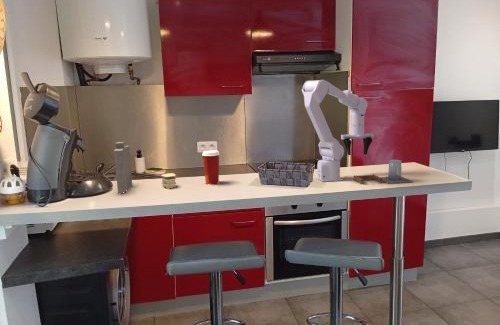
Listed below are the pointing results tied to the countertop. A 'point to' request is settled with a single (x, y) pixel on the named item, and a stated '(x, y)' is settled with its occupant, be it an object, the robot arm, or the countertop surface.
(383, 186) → the countertop surface
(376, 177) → the jug holder
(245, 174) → the countertop surface
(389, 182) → the rubber mat
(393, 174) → the jug
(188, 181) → the countertop surface
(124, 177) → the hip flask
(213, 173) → the paper cup
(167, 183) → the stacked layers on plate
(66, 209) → the countertop surface
